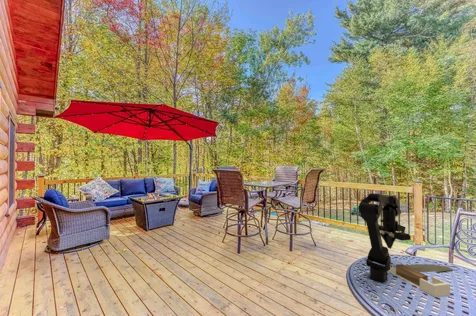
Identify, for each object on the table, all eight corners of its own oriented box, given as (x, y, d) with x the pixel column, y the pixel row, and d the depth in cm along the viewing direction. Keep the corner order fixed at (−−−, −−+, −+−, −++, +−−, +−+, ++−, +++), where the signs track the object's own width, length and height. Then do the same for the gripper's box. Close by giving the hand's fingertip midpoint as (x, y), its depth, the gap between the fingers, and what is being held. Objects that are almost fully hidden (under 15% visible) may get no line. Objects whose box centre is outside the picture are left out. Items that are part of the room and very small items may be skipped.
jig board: (436, 299, 87) (435, 297, 87) (382, 269, 112) (382, 268, 112) (449, 297, 88) (449, 295, 88) (393, 268, 113) (393, 267, 113)
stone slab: (403, 269, 116) (421, 276, 106) (402, 264, 116) (420, 270, 107) (435, 266, 120) (456, 272, 110) (434, 261, 120) (455, 267, 111)
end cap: (435, 297, 87) (434, 285, 87) (419, 288, 93) (419, 278, 93) (450, 294, 88) (449, 283, 88) (434, 287, 94) (433, 276, 94)
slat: (420, 287, 94) (420, 276, 94) (396, 273, 106) (395, 264, 106) (428, 286, 95) (427, 276, 95) (402, 273, 106) (402, 264, 107)
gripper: (419, 222, 105) (420, 254, 104) (386, 214, 123) (386, 241, 122) (400, 223, 103) (401, 256, 102) (369, 215, 121) (370, 242, 120)
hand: (389, 248), depth 111 cm, fingers closed
